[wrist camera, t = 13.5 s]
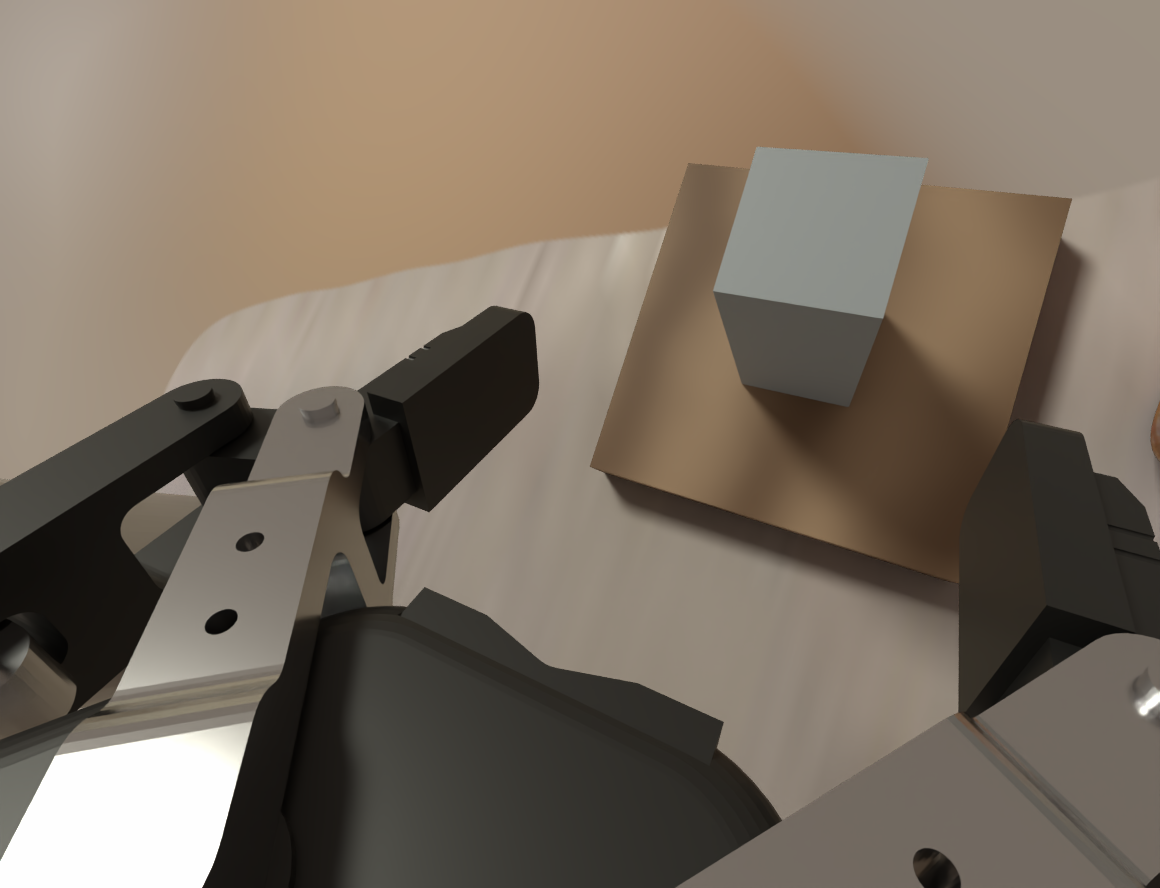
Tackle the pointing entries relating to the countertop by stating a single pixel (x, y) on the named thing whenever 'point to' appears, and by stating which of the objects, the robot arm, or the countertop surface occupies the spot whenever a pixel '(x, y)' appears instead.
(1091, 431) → the countertop surface
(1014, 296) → the walnut board
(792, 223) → the slate block
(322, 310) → the countertop surface
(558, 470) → the countertop surface
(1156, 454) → the tin
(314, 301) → the countertop surface
